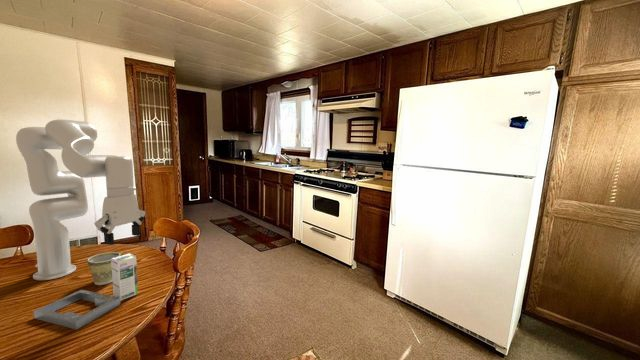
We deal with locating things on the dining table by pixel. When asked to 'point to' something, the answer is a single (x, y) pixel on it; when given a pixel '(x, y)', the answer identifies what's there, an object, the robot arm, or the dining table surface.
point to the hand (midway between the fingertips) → (123, 239)
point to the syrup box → (124, 276)
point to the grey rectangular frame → (75, 319)
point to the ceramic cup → (102, 267)
